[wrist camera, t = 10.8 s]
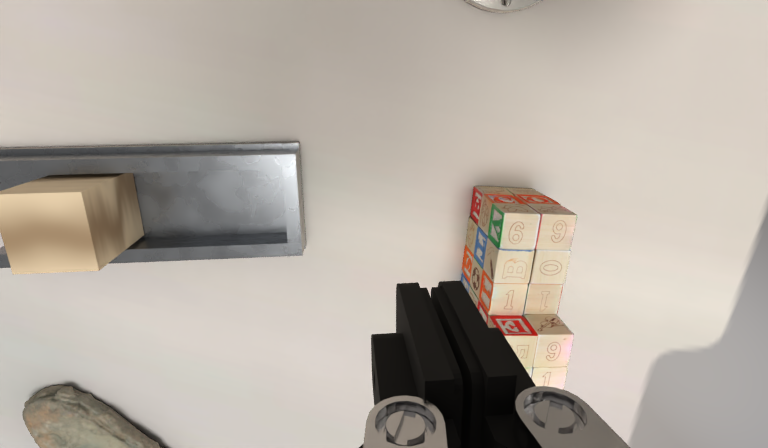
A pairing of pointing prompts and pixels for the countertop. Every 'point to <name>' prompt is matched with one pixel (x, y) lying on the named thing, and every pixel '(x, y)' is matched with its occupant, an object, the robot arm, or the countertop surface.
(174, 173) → the chute
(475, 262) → the stack of blocks
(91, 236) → the block
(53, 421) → the long grey stone
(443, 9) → the countertop surface
